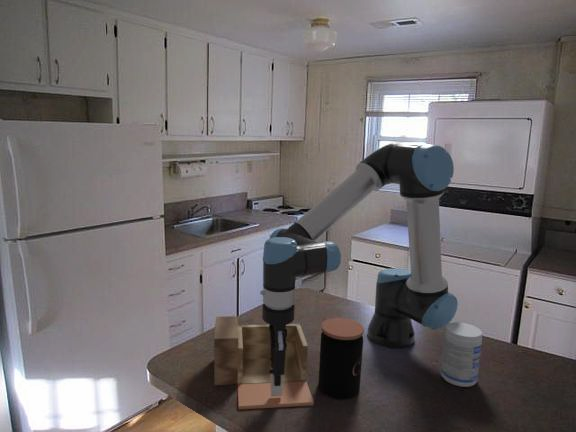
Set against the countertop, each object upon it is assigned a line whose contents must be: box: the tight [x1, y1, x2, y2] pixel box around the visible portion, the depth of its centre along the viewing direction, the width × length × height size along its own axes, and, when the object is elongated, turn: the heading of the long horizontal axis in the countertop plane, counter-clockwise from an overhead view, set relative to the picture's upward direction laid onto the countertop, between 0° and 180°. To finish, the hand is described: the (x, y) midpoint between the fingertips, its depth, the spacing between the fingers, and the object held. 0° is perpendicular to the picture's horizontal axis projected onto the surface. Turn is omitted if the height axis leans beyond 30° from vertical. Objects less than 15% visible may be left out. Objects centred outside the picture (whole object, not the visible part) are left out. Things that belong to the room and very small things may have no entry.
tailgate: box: [237, 380, 315, 410], centre depth 106 cm, size 18×1×10 cm
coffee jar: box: [317, 317, 365, 401], centre depth 109 cm, size 11×11×18 cm
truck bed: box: [213, 315, 309, 386], centre depth 116 cm, size 24×13×14 cm, turn 98°
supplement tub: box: [440, 321, 483, 388], centre depth 117 cm, size 10×10×15 cm
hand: (276, 394), depth 104 cm, fingers closed
